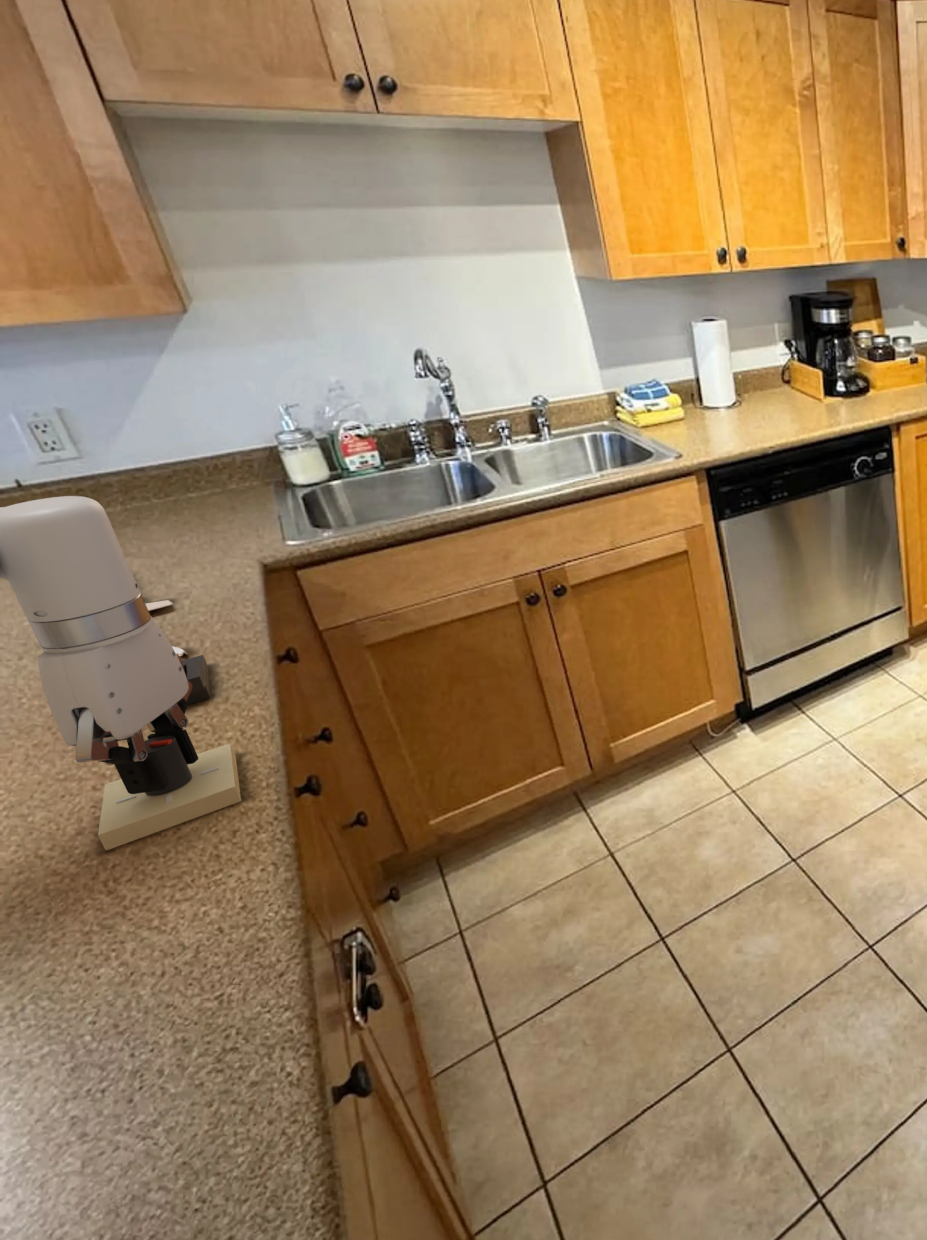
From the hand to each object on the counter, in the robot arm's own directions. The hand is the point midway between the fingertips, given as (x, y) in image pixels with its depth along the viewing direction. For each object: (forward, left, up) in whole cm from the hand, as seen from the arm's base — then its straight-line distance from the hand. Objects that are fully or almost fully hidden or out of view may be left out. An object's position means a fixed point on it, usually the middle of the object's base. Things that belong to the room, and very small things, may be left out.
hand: (164, 775), depth 81 cm
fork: (-17, +48, -3) cm, 51 cm away
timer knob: (0, 0, -1) cm, 1 cm away
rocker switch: (-10, +30, -3) cm, 32 cm away
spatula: (-30, +76, -3) cm, 82 cm away
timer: (0, 0, -3) cm, 3 cm away
